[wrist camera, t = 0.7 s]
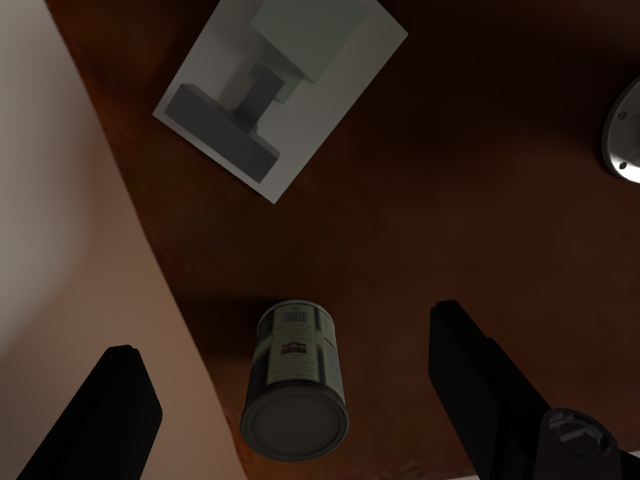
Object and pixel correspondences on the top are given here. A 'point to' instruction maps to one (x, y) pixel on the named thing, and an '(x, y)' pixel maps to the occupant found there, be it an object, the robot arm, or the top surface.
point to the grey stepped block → (303, 38)
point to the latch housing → (305, 102)
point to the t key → (230, 123)
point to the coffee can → (295, 385)
